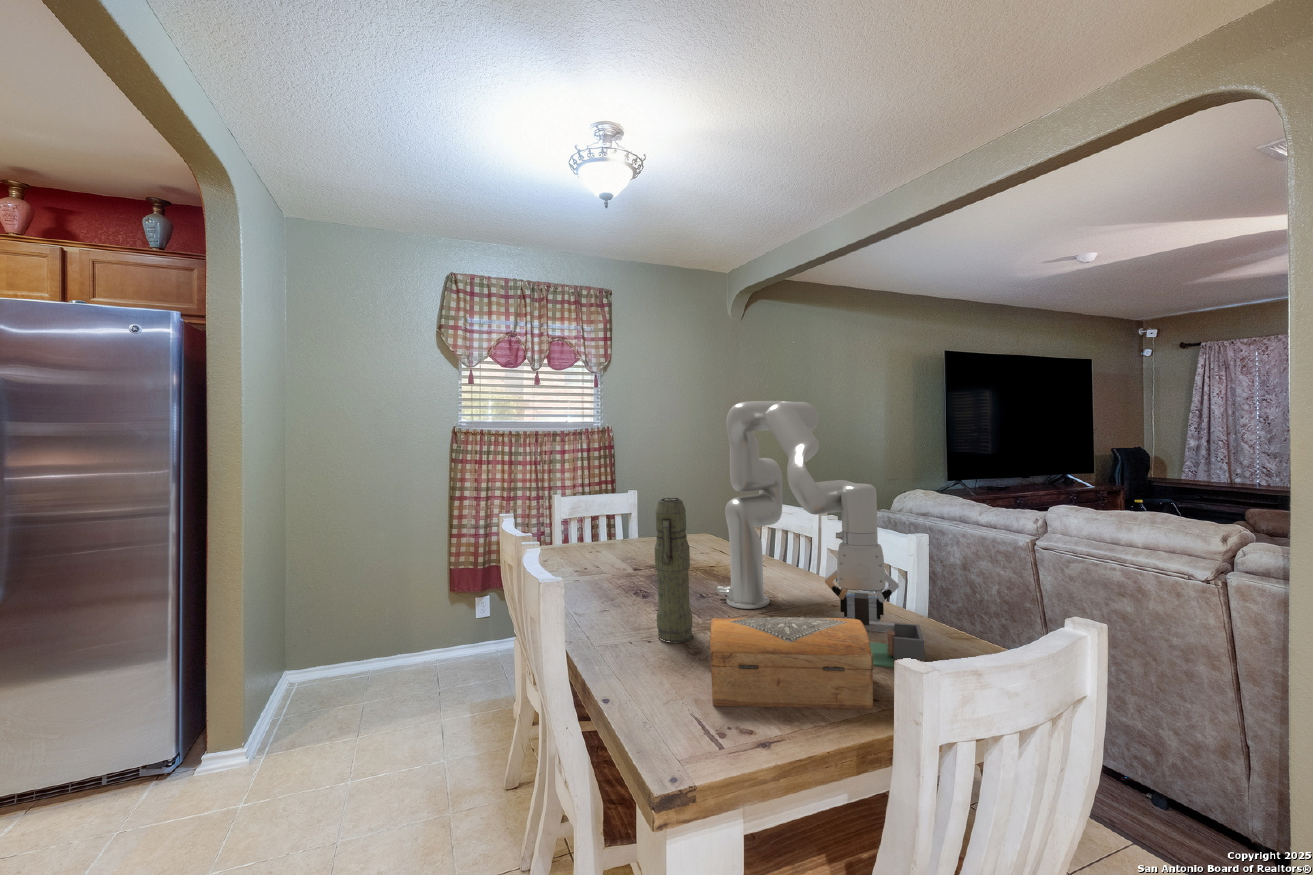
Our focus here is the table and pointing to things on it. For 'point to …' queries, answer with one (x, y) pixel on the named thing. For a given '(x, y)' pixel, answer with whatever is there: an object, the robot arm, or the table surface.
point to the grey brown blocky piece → (863, 615)
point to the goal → (908, 642)
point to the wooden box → (791, 663)
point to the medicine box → (872, 605)
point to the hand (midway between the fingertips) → (861, 615)
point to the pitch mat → (881, 655)
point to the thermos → (672, 571)
